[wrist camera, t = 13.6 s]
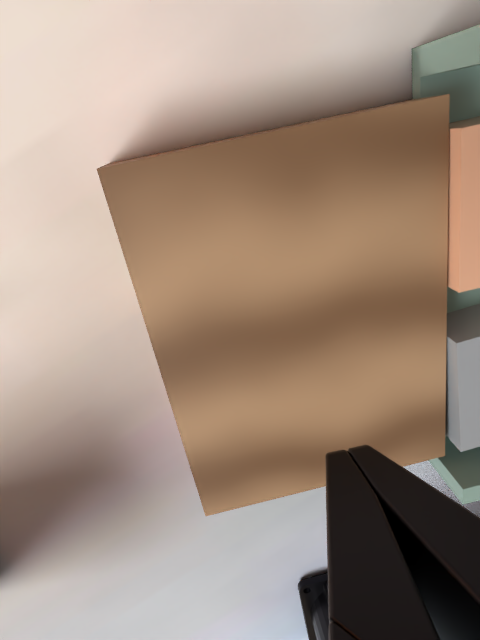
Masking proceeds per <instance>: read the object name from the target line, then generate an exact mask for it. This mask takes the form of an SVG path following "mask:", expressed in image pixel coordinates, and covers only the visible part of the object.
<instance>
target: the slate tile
mask: <svg viewBox="0 0 480 640" xmlns="http://www.w3.org/2000/svg"><path fill="white" fill-rule="evenodd" d="M445 435H446V436H447V437H448V438H449V439H450V440H451V441H452V443H453V444H454V445H455V446H456V447H457V448H458V449H459V450H460V452H463V451H466V450H470V449H473V448H476V447H480V304H477V305H473V306H470V307H467V308H463V309H460V310H456V311H453V312H449V313H447V338H446V417H445Z"/></svg>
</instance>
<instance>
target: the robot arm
mask: <svg viewBox="0 0 480 640" xmlns="http://www.w3.org/2000/svg"><path fill="white" fill-rule="evenodd" d="M325 465H326V512H327V559H328V573H327V574H323V575H319V576H315V577H311V578H308V579H304V580H302V581H300V582H299V583H298V590H299V595H300V599H301V604H302V609H303V614H304V619H305V623H306V628H307V633H308V638H309V640H480V518H479V517H478V516H476V515H475V514H473V513H472V512H470V511H469V510H467V509H466V508H464V507H463V506H461V505H460V504H458V503H457V502H455V501H454V500H452V499H450V498H449V497H447V496H446V495H444V494H443V493H441V492H440V491H438V490H437V489H435V488H434V487H432V486H431V485H429V484H428V483H426V482H425V481H423V480H421V479H420V478H418V477H417V476H415V475H414V474H412V473H411V472H409V471H408V470H406V469H405V468H403V467H402V466H400V465H399V464H397V463H396V462H394V461H393V460H391V459H389V458H388V457H386V456H385V455H383V454H382V453H380V452H379V451H377V450H376V449H374V448H373V447H371V446H369V445H361V446H356V447H352V448H349V449H348V450H347V451H346V450H344V449H342V450H338V451H333V452H328V453H327V454H326V456H325Z"/></svg>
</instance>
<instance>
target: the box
mask: <svg viewBox="0 0 480 640" xmlns="http://www.w3.org/2000/svg"><path fill="white" fill-rule="evenodd" d="M446 94H450V100H449V123H452V122H456V121H461V120H465V119H470V118H474V117H478V116H480V24H479V25H477V26H474V27H471V28H468V29H465V30H463V31H460V32H457V33H454V34H452V35H449V36H446V37H443V38H441V39H438V40H435V41H432V42H430V43H427V44H424V45H421V46H419V47H416V48H413V49H412V98H413V99H419V98H425V97H432V96H439V95H446ZM477 304H480V288H477V289H473V290H468V291H464V292H460V293H458V292H457V291H455V290H453V289H451V288H450V287H448V286H447V313H449V312H453V311H456V310H460V309H463V308H467V307H470V306H473V305H477ZM429 462H430V463H431V464H432V466H433V467H434V468H435V470H436V471H437V472H438V473H439V475H440V476H441V477H442V479H443V480H444V481H445V483H446V484H447V485H448V486H449V488H450V489H451V490H452V492H453V493H454V494H455V496H456V497H457V498H458V499H459V501H460V502H461V503H462V505H464V504H467V503H471V502H475V501H479V500H480V447H476V448H473V449H470V450H466V451H463V452H460V450H459V449H458V448H457V447H456V446H455V445H454V444H453V443H452V441H451V440H450V439H449V438H448V437H447V436H446V435H445V456H443V457H439V458H435V459H431V460H429Z"/></svg>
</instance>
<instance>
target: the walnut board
mask: <svg viewBox="0 0 480 640" xmlns="http://www.w3.org/2000/svg"><path fill="white" fill-rule="evenodd" d="M449 100H450V94H446V95H439V96H432V97H425V98H419V99H412V100H407V101H403V102H398V103H393V104H388V105H384V106H379V107H374V108H370V109H365V110H360V111H355V112H351V113H346V114H341V115H337V116H332V117H327V118H322V119H318V120H313V121H308V122H304V123H299V124H294V125H289V126H285V127H280V128H275V129H271V130H266V131H261V132H256V133H252V134H247V135H242V136H238V137H233V138H228V139H223V140H219V141H214V142H209V143H205V144H200V145H195V146H190V147H186V148H181V149H176V150H172V151H167V152H162V153H157V154H153V155H148V156H143V157H139V158H134V159H129V160H125V161H120V162H115V163H110V164H107V165H105V166H102V167H100V168H98V169H97V171H98V175H99V178H100V181H101V184H102V187H103V191H104V194H105V197H106V200H107V203H108V206H109V210H110V213H111V216H112V219H113V222H114V226H115V229H116V232H117V235H118V238H119V242H120V245H121V248H122V251H123V254H124V257H125V261H126V264H127V267H128V270H129V273H130V277H131V280H132V283H133V286H134V289H135V292H136V296H137V299H138V302H139V305H140V308H141V312H142V315H143V318H144V321H145V324H146V327H147V331H148V334H149V337H150V340H151V343H152V347H153V350H154V353H155V356H156V359H157V363H158V366H159V369H160V372H161V375H162V378H163V382H164V385H165V388H166V391H167V394H168V398H169V401H170V404H171V407H172V410H173V413H174V417H175V420H176V423H177V426H178V429H179V433H180V436H181V439H182V442H183V445H184V448H185V452H186V455H187V458H188V461H189V464H190V468H191V471H192V474H193V477H194V480H195V483H196V487H197V490H198V493H199V496H200V499H201V503H202V506H203V509H204V512H205V515H206V516H208V515H212V514H216V513H220V512H224V511H228V510H232V509H236V508H240V507H244V506H248V505H252V504H256V503H260V502H264V501H268V500H272V499H276V498H280V497H284V496H288V495H292V494H296V493H300V492H304V491H308V490H312V489H316V488H320V487H324V486H326V465H325V456H326V454H327V453H328V452H333V451H338V450H342V449H344V450H346V451H347V450H348V449H349V448H352V447H356V446H361V445H369V446H371V447H373V448H374V449H376V450H377V451H379V452H380V453H382V454H383V455H385V456H386V457H388V458H389V459H391V460H393V461H394V462H396V463H397V464H399V465H400V466H402V467H403V466H407V465H411V464H415V463H419V462H423V461H427V460H431V459H435V458H439V457H443V456H445V417H446V338H447V259H448V180H449Z"/></svg>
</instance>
